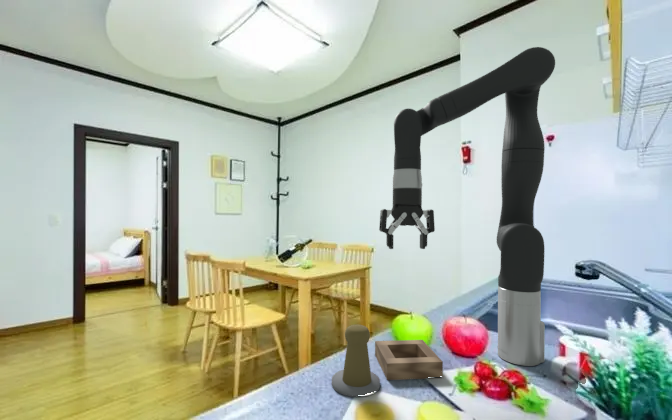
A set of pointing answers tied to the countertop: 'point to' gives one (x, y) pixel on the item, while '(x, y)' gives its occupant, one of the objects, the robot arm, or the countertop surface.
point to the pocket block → (407, 360)
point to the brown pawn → (357, 357)
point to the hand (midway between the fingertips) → (406, 248)
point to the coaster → (354, 391)
